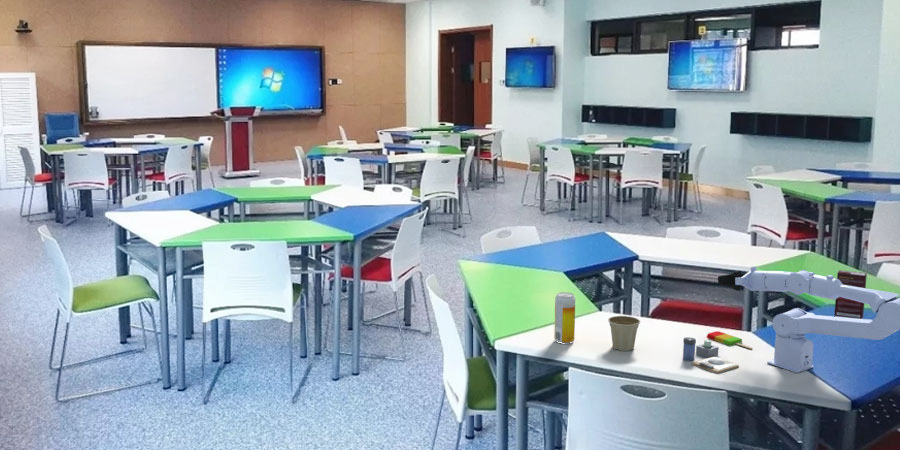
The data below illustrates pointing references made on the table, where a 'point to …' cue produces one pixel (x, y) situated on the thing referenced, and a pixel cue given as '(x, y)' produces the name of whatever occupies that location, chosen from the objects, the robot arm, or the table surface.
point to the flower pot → (623, 332)
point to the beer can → (564, 317)
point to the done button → (707, 344)
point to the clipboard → (715, 364)
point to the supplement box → (848, 306)
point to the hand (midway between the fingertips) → (725, 279)
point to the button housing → (707, 351)
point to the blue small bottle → (689, 349)
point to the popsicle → (726, 339)
